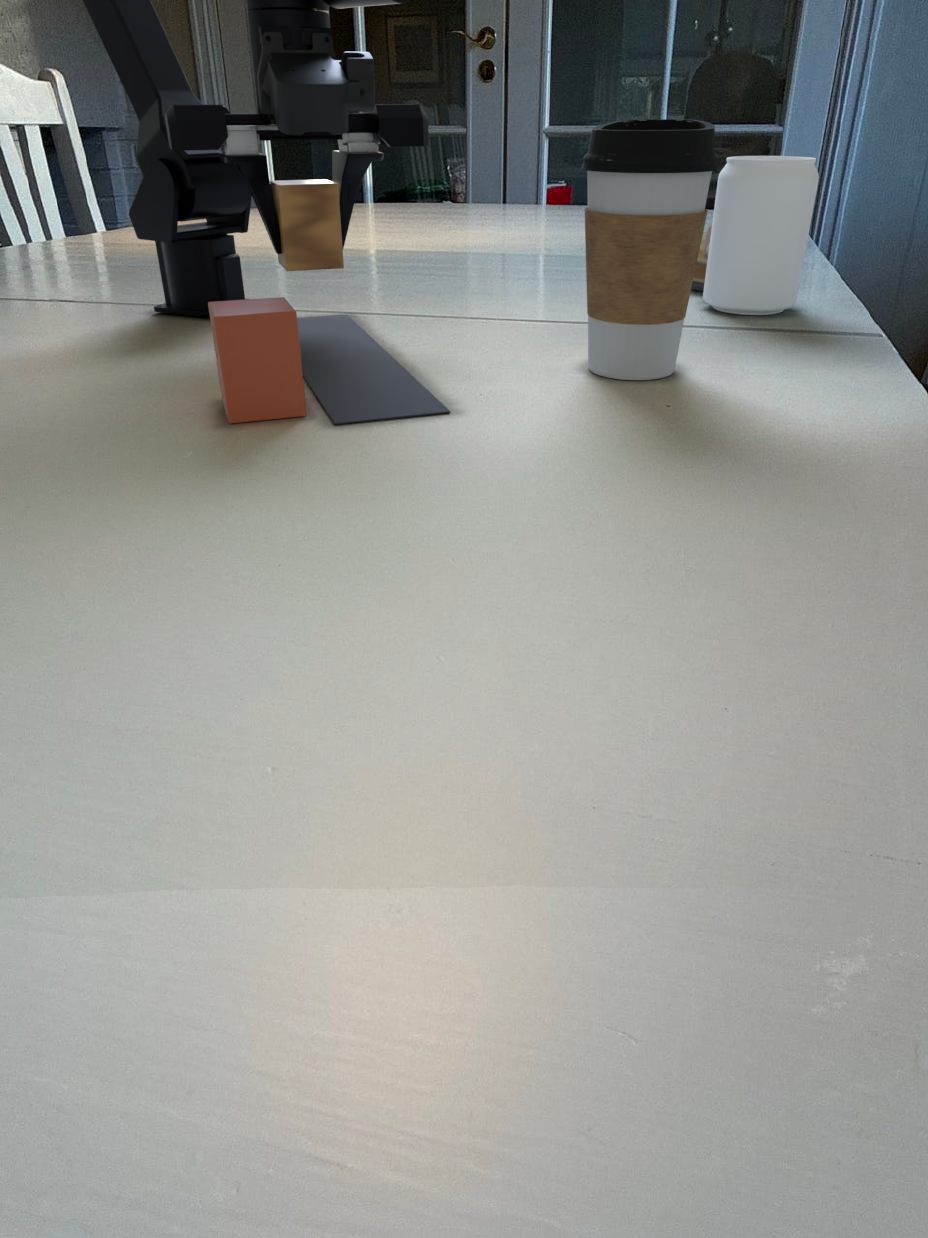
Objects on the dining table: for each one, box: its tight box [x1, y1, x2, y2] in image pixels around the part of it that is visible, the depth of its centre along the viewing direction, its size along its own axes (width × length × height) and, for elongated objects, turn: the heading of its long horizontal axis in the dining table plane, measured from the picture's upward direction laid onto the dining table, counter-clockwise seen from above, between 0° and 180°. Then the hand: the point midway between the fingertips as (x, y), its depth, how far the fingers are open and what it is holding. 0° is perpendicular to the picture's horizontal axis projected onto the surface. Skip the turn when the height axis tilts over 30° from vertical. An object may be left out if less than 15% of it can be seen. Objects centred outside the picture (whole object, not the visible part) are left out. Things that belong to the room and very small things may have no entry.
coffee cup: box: [581, 118, 720, 381], centre depth 56 cm, size 8×8×15 cm
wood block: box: [270, 178, 345, 272], centre depth 68 cm, size 4×4×6 cm
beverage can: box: [702, 155, 820, 316], centre depth 75 cm, size 8×8×12 cm
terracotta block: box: [208, 296, 307, 425], centre depth 51 cm, size 4×4×6 cm
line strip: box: [297, 314, 451, 426], centre depth 63 cm, size 30×7×1 cm, turn 18°
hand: (309, 251), depth 69 cm, fingers closed on wood block, 4 cm apart
